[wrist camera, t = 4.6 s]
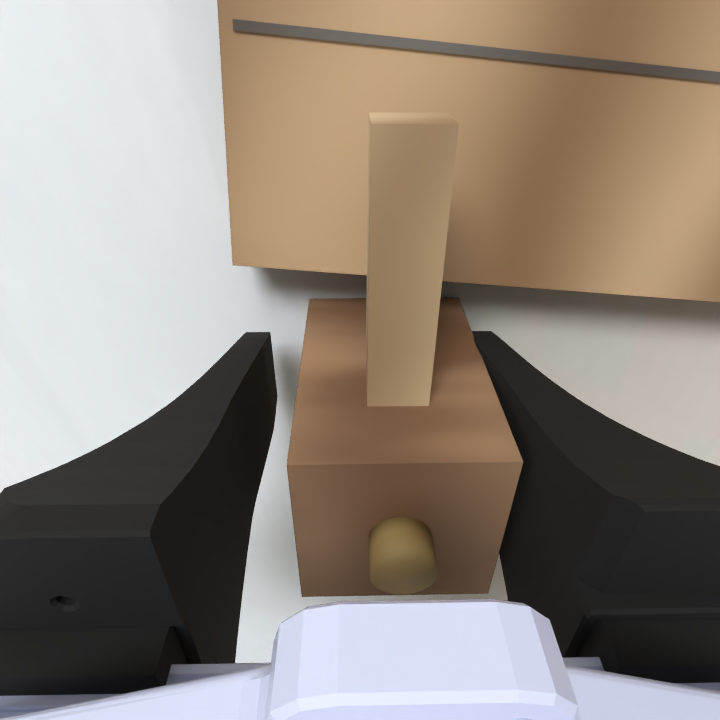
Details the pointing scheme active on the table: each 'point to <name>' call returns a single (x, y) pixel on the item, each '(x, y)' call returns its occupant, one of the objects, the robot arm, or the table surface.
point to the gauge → (399, 401)
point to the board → (485, 135)
